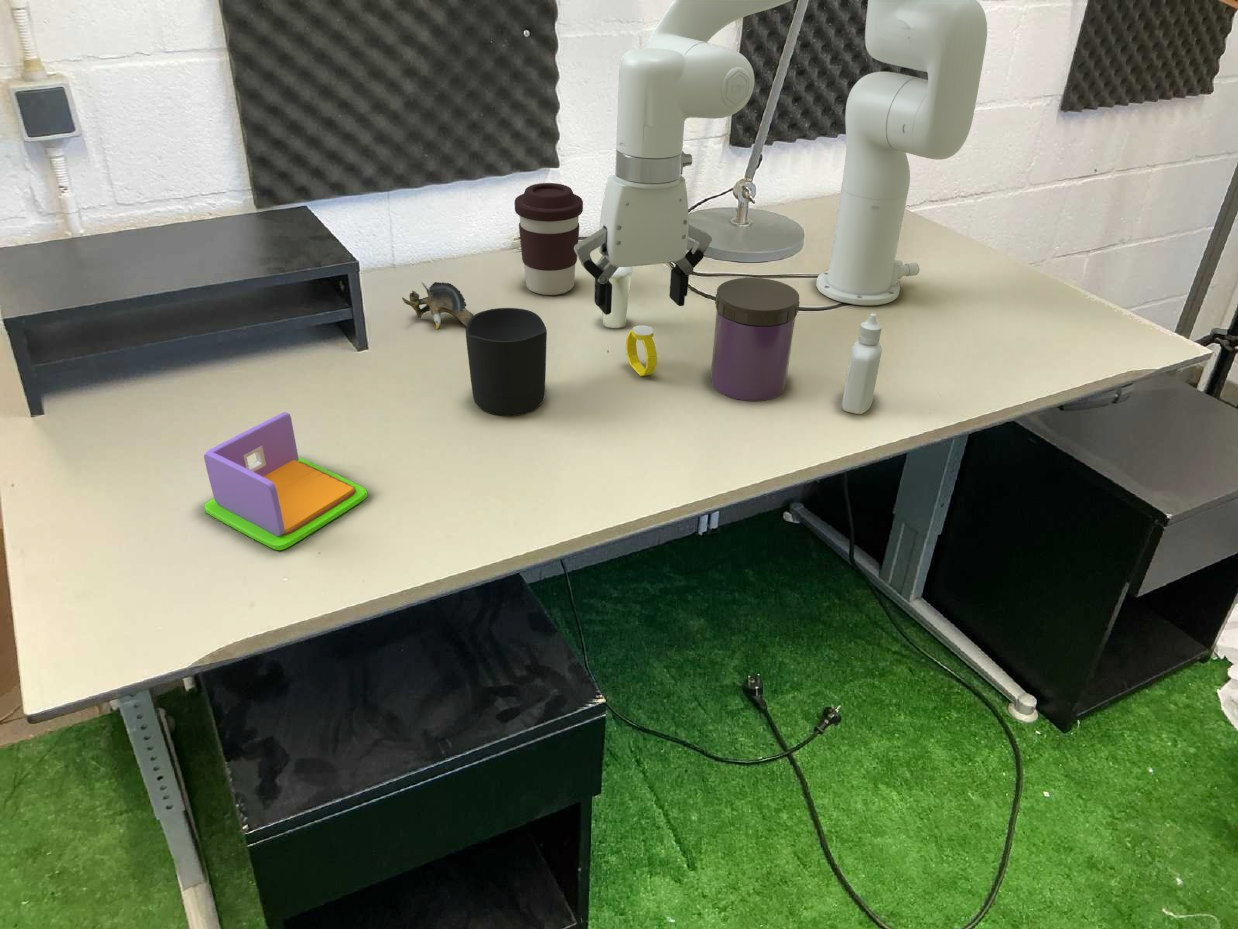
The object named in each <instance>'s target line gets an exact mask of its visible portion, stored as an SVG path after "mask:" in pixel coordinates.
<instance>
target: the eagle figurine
mask: <svg viewBox="0 0 1238 929" xmlns="http://www.w3.org/2000/svg"><path fill="white" fill-rule="evenodd" d="M420 283H421V285H422V286H423V288H424V289H425V292H426V294H427V296H426V297H422V298H420V294H419V293H417V291H415V290H411V292H410V293H409V295H408V297H409V300H408V299H406V298H405V297H401V299H402V301H403V303H404V304H405V305H408V306H409V307H411V308H412V309H413V311H415V313H416V314H415V315H416V318H417V319H421V318H422V315H424V313H428V312H430V314H431V316H432V318H433V321H434V323H435V330H438V329H439V327H440V325H441V324H442V318H441V314H442V313H443V314H444V313H445V314H446V313H447V314H450V315H452V316H453V317H455V318H456V319H458V320H459V321H460V322H461V323H462V324H463V325H464V326H465V327H467V324H468V322H469V320H470V319H471V318H472V316H474V315H475V314H473V313H472V312H470V310H468V309H467V308H466V307H467V302H466V299H465V297H464V294H462V293H461V291H460V290H459V289H458V287H456V285H454V284H452V283H450V282H439V281H438V282H437V281H435V282H433V283H432V284H431V285H430V286H429V287H428V285H427V284H425V282H423V281H422V280H421V281H420ZM422 305H425V306H423V307H422V308H421V307H420V306H422Z"/></svg>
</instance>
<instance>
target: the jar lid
mask: <svg viewBox="0 0 1238 929" xmlns="http://www.w3.org/2000/svg"><path fill="white" fill-rule="evenodd" d="M714 305H715V309H716V310H717V311H718V312H719V313H720V314H721V315H722V316H724V317H725V318H728V319H730V320H732V321H735V322H738V323H743V324H748V325H757V326H771V325H778V324H783V323H786V322H789V321H791V320H792V319H794V318H795V319H796V318H797V316H798V313H799V310H800V294H799V292H798V291H797V289H795V288H794V287H792V286H790V285H789V284H786V283H785V282H783V281H782V282H781V281H779V280H774V279H769V278H765V277H764V278H763V277H740V278H733V279H730V280H727V281H724V282H723V283H720V284H719V285H718V286H717V289H716V294H715V300H714ZM716 310H715V311H716Z"/></svg>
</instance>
